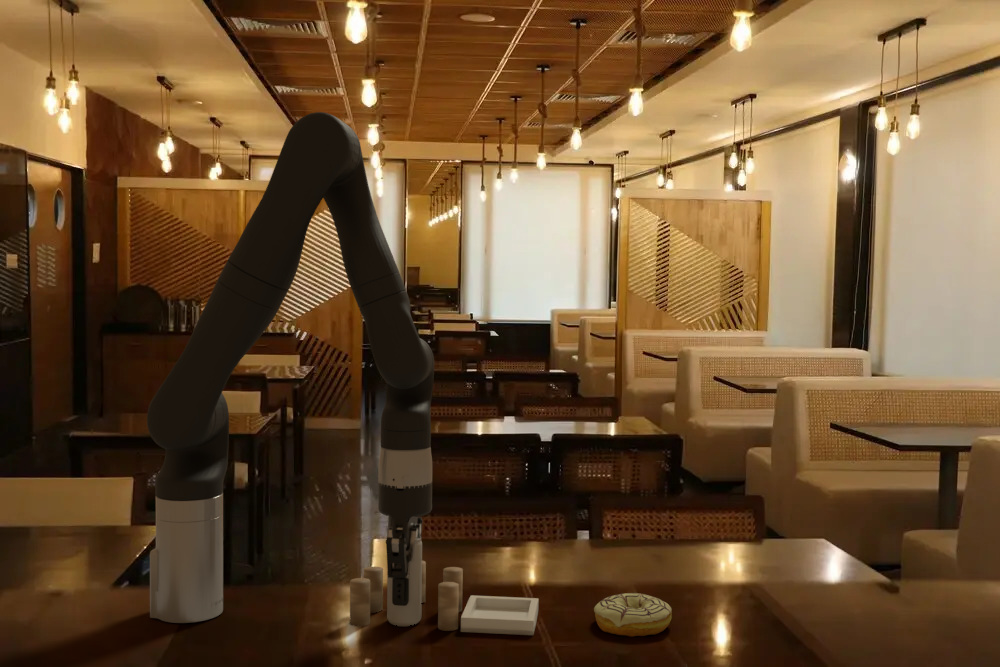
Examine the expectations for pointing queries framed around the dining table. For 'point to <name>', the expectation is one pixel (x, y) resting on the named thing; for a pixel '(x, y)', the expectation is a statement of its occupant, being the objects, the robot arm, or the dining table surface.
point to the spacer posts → (370, 596)
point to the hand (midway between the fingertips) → (404, 598)
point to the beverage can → (413, 608)
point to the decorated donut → (632, 614)
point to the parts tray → (500, 615)
